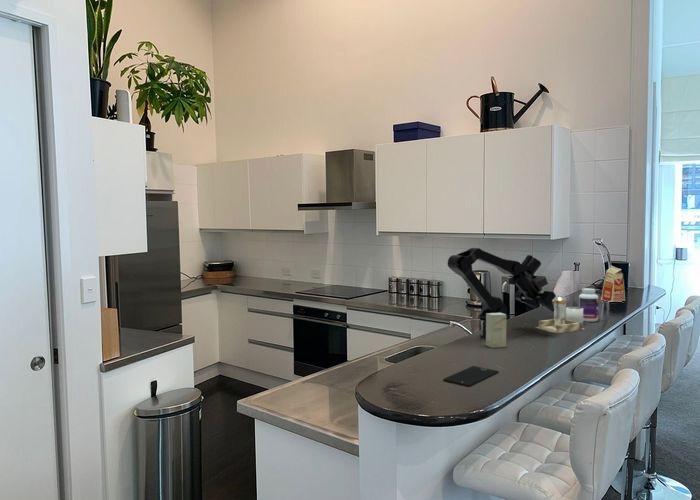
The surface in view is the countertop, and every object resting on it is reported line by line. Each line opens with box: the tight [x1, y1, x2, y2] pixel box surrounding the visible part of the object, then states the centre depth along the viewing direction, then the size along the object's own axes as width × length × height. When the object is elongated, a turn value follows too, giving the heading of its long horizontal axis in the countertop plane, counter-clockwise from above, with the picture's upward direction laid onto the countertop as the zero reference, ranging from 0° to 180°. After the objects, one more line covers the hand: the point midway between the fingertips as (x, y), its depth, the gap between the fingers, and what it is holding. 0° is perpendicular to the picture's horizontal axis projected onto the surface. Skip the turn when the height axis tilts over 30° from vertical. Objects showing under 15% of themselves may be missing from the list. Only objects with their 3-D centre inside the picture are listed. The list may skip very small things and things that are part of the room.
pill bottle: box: [578, 287, 599, 323], centre depth 235 cm, size 8×8×14 cm
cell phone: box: [442, 365, 500, 388], centre depth 155 cm, size 9×18×1 cm, turn 137°
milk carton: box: [600, 265, 626, 303], centre depth 285 cm, size 9×9×20 cm
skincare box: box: [485, 313, 507, 349], centre depth 191 cm, size 6×4×12 cm
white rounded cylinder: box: [566, 306, 584, 326], centre depth 229 cm, size 7×7×7 cm
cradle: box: [534, 318, 585, 334], centre depth 219 cm, size 16×11×3 cm
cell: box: [553, 295, 567, 328], centre depth 218 cm, size 5×5×14 cm
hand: (545, 309), depth 215 cm, fingers open, 9 cm apart
